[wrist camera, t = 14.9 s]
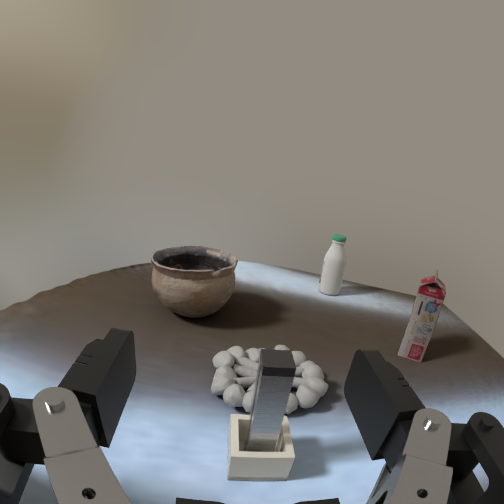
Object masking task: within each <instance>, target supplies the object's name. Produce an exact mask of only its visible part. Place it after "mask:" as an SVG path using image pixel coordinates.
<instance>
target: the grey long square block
mask: <svg viewBox="0 0 504 504" xmlns="http://www.w3.org/2000/svg"><path fill="white" fill-rule="evenodd" d="M295 372H296V365H295V362H294V358H293V355H292V351H291V350H273V349H261V351H260V357H259V363H258V369H257V375H256V381H255V387H254V393H253V398H252V404H251V410H250V415H249V421H248V426H247V432H246V437H245V443H244V451H249V452H274V450H275V446H276V443H277V439H278V436H279V432H280V429H281V425H282V422H283V418H284V414H285V411H286V407H287V403H288V399H289V396H290V392H291V388H292V384H293V380H294V376H295Z"/></svg>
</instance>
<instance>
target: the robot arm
mask: <svg viewBox="0 0 504 504" xmlns="http://www.w3.org/2000/svg"><path fill="white" fill-rule="evenodd" d="M135 376H136V359H135V345H134V334H133V332H132V331H129V330H123V329H117V328H111V329H110V331H109V332H108V334H107V335H106V337H105V338H104V340H101V339H96V340H94V341H93V342H91V343H89V344H88V345H86V347H85V348H84V349H83V351H82V352H81V354H80V356H78V358H77V359H76V361H75V363H74V364H73V365H72V366H71V368H70V369H69V371H68V372H67V374H66V375H65V377H64V378H63V380H62V381H61V383H60V384H59V386H58V387H50V388H46V389H44V390H42V391H40V392H39V393H38V394H37V395H36V396H35V397H34V399H22V398H11V396H10V393H9V391H8V389H7V388H6V387H5V386H4V385H3V384H1V383H0V504H19V501H20V498H21V496H22V493H23V491H24V488H25V486H26V483H27V481H28V478H29V476H30V473H31V471H32V469H33V466H34V464H42V465H45V466H46V470H47V473H48V476H49V479H50V482H51V484H52V487H53V490H54V493H55V495H56V498H57V500H58V503H59V504H131V502H130V500H129V499H128V497H127V495H126V494H125V492H124V490H123V489H122V487H121V485H120V483H119V482H118V480H117V478H116V476H115V475H114V473H113V471H112V469H111V467H110V465H109V463H108V461H107V460H106V458H105V456H104V454H103V452H102V450H101V448H100V446H103V447H107V448H109V446H110V444H111V441H112V438H113V435H114V433H115V430H116V427H117V425H118V422H119V420H120V417H121V414H122V412H123V409H124V407H125V404H126V402H127V399H128V397H129V394H130V392H131V389H132V387H133V384H134V381H135ZM344 394H345V398H346V401H347V403H348V405H349V408H350V410H351V412H352V415H353V417H354V419H355V422H356V424H357V426H358V429H359V431H360V433H361V436H362V438H363V440H364V443H365V445H366V447H367V450H368V452H369V455H370V457H371V459H372V460H378V459H384V458H385V461H386V463H385V465H384V466H383V468H382V470H381V473H380V475H379V477H378V479H377V482H376V484H375V486H374V488H373V490H372V493H371V495H370V497H369V499H368V501H367V503H366V504H504V428H503V426H502V425H501V424H500V422H499V421H498V420H497V419H496V418H495V417H494V416H492V415H490V414H488V413H484V412H477V413H475V414H473V415H472V416H471V418H470V419H469V421H468V423H467V424H458V423H451V422H450V420H449V418H448V417H447V416H446V415H445V414H443V413H442V412H440V411H438V410H435V409H430V408H425V407H424V405H423V404H422V402H421V401H420V399H419V398H418V396H417V395H416V394H415V392H414V391H413V389H412V388H411V386H410V387H409V384H408V382H407V381H406V380H404V376H403V375H402V374H401V372H400V371H399V369H397V368H396V367H395V366H393V365H392V364H391V363H389V362H386V361H385V359H384V358H383V357H382V355H381V354H380V352H379V351H378V350H357V351H356V353H355V355H354V358H353V361H352V364H351V367H350V370H349V373H348V376H347V379H346V381H345V386H344ZM479 462H480V464H481V466H482V468H483V469H484V471H485V473H486V474H487V476H488V478H489V486H488V489H487V490H486V491H485V492H484V491H483V489H482V487H481V485H480V483H479V482H478V480H477V478H476V476H475V474H474V473H473V471H472V470H473V469H474V468H475V467H476V465H477V464H478V463H479ZM176 504H224V503H221V502H214V501H203V500H193V499H184V498H177V497H176ZM295 504H340V502H339V499H338V498H334V499H326V500H316V501H304V502H298V503H295Z"/></svg>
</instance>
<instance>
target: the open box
mask: <svg viewBox="0 0 504 504" xmlns="http://www.w3.org/2000/svg"><path fill="white" fill-rule="evenodd" d="M248 421H249V415H241V414H231V417H230V425H229V433H228V480H237V481H286V480H287V477H288V475H289V472H290V470H291V467H292V465H293V462H294V459H295V454H294V449H293V444H292V439H291V434H290V429H289V424H288V419H287V416H284V418H283V422H282V425H281V429H280V432H279V436H278V439H277V443H276V446H275V450H274V452H249V451H244V443H245V437H246V432H247V426H248Z"/></svg>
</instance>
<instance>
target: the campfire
mask: <svg viewBox="0 0 504 504" xmlns="http://www.w3.org/2000/svg"><path fill="white" fill-rule="evenodd" d="M261 349H265V348H261ZM261 349H256V348H250V349H248V350H246V351H245V352H244V350H243V348H241V347H239V346H233V347H231V348H230V349H228V350H227V351H221V352H219V353H217V354H216V355H215V356H214V358H213V364H214V366H215V368H217V369H216V373H215V375H214V378H213V383H212V386H211V392H212V394H214V395H223V399H224V402H225V403H226V404H227V405H229V406H230V407H231V408H234V407H242V406H243V407H244V409H245V411H246V412H250V410H251V404H252V398H253V393H254V387H255V381H256V375H257V369H258V363H259V357H260V351H261ZM274 350H290V349H289V348H287V347H286V346H285V345H277V346H276V347H275V349H274ZM292 355H293V358H294V362H295V365H296V372H295V376H294V380H293V384H292V387H294V388H298V390H297V393H296V396H295V395H294V394H292V393H290V396H289V399H288V403H287V407H286V411H285V414H290V413H291V412H293V411H294V410H296V409H297V405H299V406H300V407H301V408H310V407H313V406H314V405H315V404H316V403H317V402H318V400H319V398H320V397H322V396H324V394H325V393H326V391H327V389H328V384H327V383H326V382H325V381H323V380H324V374H323V371H322V369H321V368H320V367H319V366H318V365H315V363H314V362H311V361H310V360H308V361H306V356H305V355H304V354H303V353H302V352H301V351H292ZM232 368H233V369H232ZM237 375H238V376H241V378H238V377H237ZM243 388H248V390H247V391H246V392H245V390H244V389H243Z"/></svg>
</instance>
